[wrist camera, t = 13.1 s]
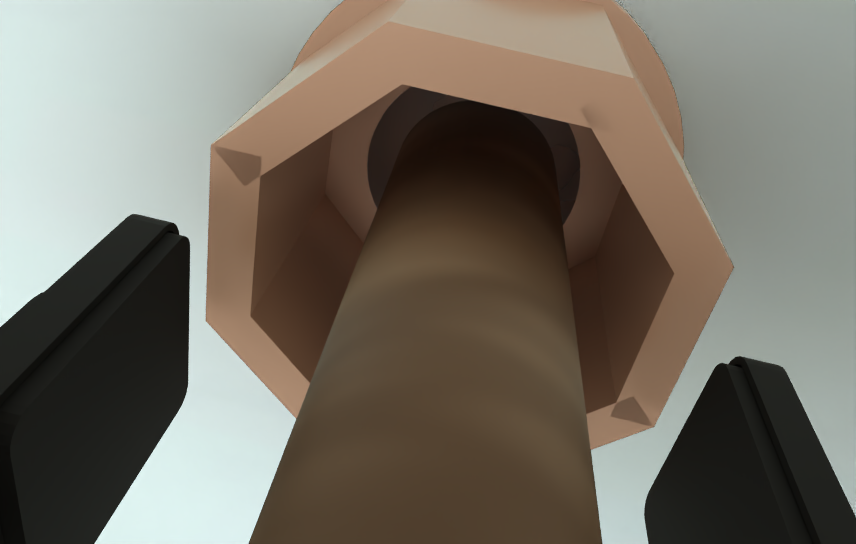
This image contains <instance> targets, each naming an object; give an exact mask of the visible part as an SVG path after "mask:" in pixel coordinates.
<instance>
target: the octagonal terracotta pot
mask: <svg viewBox="0 0 856 544" xmlns="http://www.w3.org/2000/svg"><path fill="white" fill-rule="evenodd" d="M410 86H412V87H417V88H421V89H425V90H429V91H434V92H438V93H442V94H447V95H451V96H455V97H460V98H464V99H468V100H473V101H477V102H481V103H485V104H490V105H494V106H498V107H503V108H507V109H511V110H516V111H520V112H524V113H528V114H533V115H537V116H541V117H546V118H550V119H554V120H559V121H563V122H567V123H569V125H570V128H571V130H572V132H573V134H574V137H575V140H576V143H577V147H578V153H579V159H580V183H579V190H578V194H577V197H576V201H575V203H574V206H573V208H572V211H571V213H570V215H569V216H568V218H567V220H566V221H565V223H564V225H563V231H564V239H565V247H566V255H567V263H568V271H569V279H570V288H571V296H572V304H573V312H574V320H575V328H576V336H577V344H578V352H579V360H580V368H581V376H582V384H583V392H584V400H585V408H586V416H587V425H588V433H589V441H590V449H594V448H597V447H600V446H602V445H605V444H608V443H611V442H614V441H616V440H619V439H622V438H625V437H627V436H630V435H633V434H636V433H638V432H641V431H644V430H647V429H649V428H652V427H654V426H655V424H656V422H657V420H658V418H659V416H660V414H661V412H662V410H663V408H664V406H665V404H666V402H667V400H668V398H669V396H670V394H671V392H672V390H673V388H674V386H675V384H676V382H677V380H678V378H679V376H680V374H681V372H682V370H683V368H684V366H685V364H686V362H687V360H688V358H689V356H690V354H691V352H692V350H693V348H694V346H695V344H696V342H697V340H698V338H699V336H700V334H701V332H702V330H703V328H704V326H705V324H706V322H707V320H708V318H709V316H710V314H711V312H712V310H713V308H714V306H715V304H716V302H717V300H718V298H719V296H720V294H721V292H722V290H723V288H724V286H725V284H726V282H727V280H728V278H729V276H730V274H731V272H732V270H733V268H734V266H733V264H732V262H731V260H730V258H729V256H728V254H727V252H726V250H725V247H724V245H723V243H722V241H721V239H720V237H719V235H718V233H717V231H716V229H715V226H714V224H713V222H712V220H711V218H710V216H709V214H708V212H707V210H706V207H705V205H704V203H703V201H702V199H701V197H700V195H699V193H698V191H697V188H696V186H695V184H694V182H693V180H692V178H691V176H690V174H689V172H688V169H687V167H686V165H685V163H684V161H683V152H684V140H683V130H682V120H681V115H680V111H679V107H678V103H677V99H676V95H675V91H674V88H673V86H672V84H671V81H670V79H669V76H668V74H667V72H666V69H665V67H664V65H663V63H662V61H661V60H660V58H659V56H658V55H657V53H656V51H655V50H654V48H653V46H652V45H651V43H650V41H649V40H648V38H647V36H646V35H645V33H644V32H643V30H642V29H641V28H640V27H639V25H638V24H637V23H636V22H635V21H634V19H633V18H632V17H631V16H630V15H629V13H628V12H627V11H626V10H625V9H624V8H623V7H622V6H621V5H620V4H618V3H617V2H616V1H615V0H344V1H343V2H342V3H341V4H340V5H338V6H337V7H336V8H335V9H334V10H333V11H331V12H330V14H329V15H328V16H327V17H326V18H325V19H324V20H323V22H322V23H321V24H320V25H319V26H318V27H317V28H316V30H315V31H314V32H313V33H312V35H311V36H310V38H309V39H308V41H307V42H306V44H305V46H304V47H303V49H302V50H301V52H300V53H299V55H298V57H297V59H296V61H295V63H294V66H293V68H292V70H291V72H290V73H289V74H288V75H287V76H286V77H285V78H284V79H283V80H282V81H280V82H279V83H278V84H277V85H276V86H275V87H274V88H273V89H272V90H271V91H269V92H268V93H267V94H266V95H265V96H264V97H263V98H262V99H261V100H260V101H259V102H257V103H256V104H255V105H254V106H253V107H252V108H251V109H250V110H249V111H248V112H246V113H245V114H244V115H243V116H242V117H241V118H240V119H239V120H238V121H237V122H236V123H234V124H233V125H232V126H231V127H230V128H229V129H228V130H227V131H226V132H225V133H224V134H222V135H221V136H220V137H219V138H218V139H217V140H216V141H215V142H214V143H213V144H211V161H210V194H209V227H208V260H207V294H206V322H207V323H208V324H209V325H210V326H211V327H212V328H213V329H214V330H215V331H216V332H217V333H218V335H219V336H220V337H221V338H222V339H223V340H224V341H225V342H226V343H227V344H228V345H229V346H230V347H231V349H232V350H233V351H234V352H235V353H236V354H237V355H238V356H239V357H240V358H241V359H242V360H243V362H244V363H245V364H246V365H247V366H248V367H249V368H250V369H251V370H252V371H253V372H254V373H255V375H256V376H257V377H258V378H259V379H260V380H261V381H262V382H263V383H264V384H265V385H266V386H267V387H268V389H269V390H270V391H271V392H272V393H273V394H274V395H275V396H276V397H277V398H278V399H279V400H280V402H281V403H282V404H283V405H284V406H285V407H286V408H287V409H288V410H289V411H290V412H291V413H292V415H293V416H294V417H295V418H296V419H297V416H298V414H299V411H300V409H301V406H302V403H303V401H304V398H305V396H306V393H307V390H308V388H309V385H310V383H311V380H312V377H313V375H314V372H315V370H316V367H317V364H318V362H319V359H320V357H321V354H322V351H323V349H324V346H325V344H326V341H327V338H328V336H329V333H330V331H331V328H332V325H333V323H334V320H335V317H336V315H337V312H338V310H339V307H340V304H341V302H342V299H343V297H344V294H345V291H346V289H347V286H348V284H349V281H350V278H351V276H352V273H353V271H354V268H355V265H356V263H357V260H358V258H359V255H360V252H361V250H362V247H363V245H364V242H365V239H366V237H367V234H368V232H369V229H370V226H371V224H372V221H373V219H374V216H375V213H376V211H377V207H376V205H375V203H374V201H373V198H372V195H371V192H370V187H369V182H368V172H367V162H368V152H369V147H370V143H371V139H372V137H373V134H374V131H375V129H376V127H377V125H378V123H379V121H380V120H381V118H382V116H383V114H384V113H385V111H386V110H387V109H388V107H389V106H390V105H391V103H392V102H393V101H394V100H395V99H396V98H397V97H398V96H399V95H400V94H401V93H402V92H404V91H405V90H406V89H408V88H409V87H410Z"/></svg>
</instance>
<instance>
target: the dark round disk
mask: <svg viewBox="0 0 856 544" xmlns="http://www.w3.org/2000/svg"><path fill="white" fill-rule="evenodd" d="M467 100H468V99H464V98H460V97H455V96H451V95H447V94H442V93H438V92H434V91H429V90H425V89H421V88H417V87H412V86H410V87H409V88H408V89H406V90H405V91H404V92H402V93H401V94H400V95H399V96H398V97H397V98H396V99H395V100H394V101H393V102H392V103H391V105H390V106H389V107H388V109H387V110H386V111H385V113H384V114H383V116H382V118H381V120H380V121H379V123H378V125H377V127H376V129H375V131H374V134H373V137H372V139H371V143H370V147H369V152H368V162H367V172H368V182H369V187H370V192H371V195H372V198H373V201H374V203H375V205H376V207H377V208H378V206H379V203H380V200H381V198H382V195H383V193H384V190H385V187H386V185H387V182H388V180H389V177H390V174H391V172H392V169H393V166H394V164H395V161H396V159H397V156H398V153H399V151H400V149H401V146H402V144H403V142H404V140H405V138H406V137H407V135H408V133H409V132H410V131H411V130H412V128H413V127H414V126H415V125H416V124H417V123H418V122H419V121H420V120H421V119H422V118H424V117H425V116H426V115H428V114H429V113H430V112H432V111H434V110H436V109H438V108H440V107H442V106H445V105H448V104H451V103H455V102H459V101H467ZM518 112H519V113H521V114H523V115H524V116H525V117H527V118H528V119H529V120H530V121H532V122H533V123H534V124H535V125H536V127H537V128H538V129H539V130H540V131H541V133H542V134H543V135H544V137H545V138H546V140H547V142H548V144H549V146H550V148H551V151H552V154H553V157H554V162H555V167H556V175H557V183H558V191H559V199H560V207H561V215H562V223H563V225H564V223H565V221H566V220H567V218H568V216H569V215H570V213H571V211H572V208H573V206H574V203H575V201H576V197H577V194H578V190H579V183H580V159H579V153H578V147H577V143H576V140H575V137H574V134H573V132H572V130H571V128H570V125H569V123H567V122H563V121H559V120H554V119H550V118H546V117H541V116H537V115H533V114H528V113H524V112H520V111H518Z"/></svg>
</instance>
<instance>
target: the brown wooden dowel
mask: <svg viewBox="0 0 856 544" xmlns="http://www.w3.org/2000/svg"><path fill="white" fill-rule="evenodd" d="M249 544H602V537H601V529H600V521H599V513H598V505H597V497H596V489H595V481H594V473H593V465H592V457H591V449H590V441H589V433H588V425H587V416H586V408H585V400H584V392H583V384H582V376H581V368H580V360H579V352H578V344H577V336H576V328H575V320H574V312H573V304H572V296H571V288H570V279H569V271H568V263H567V255H566V247H565V239H564V231H563V223H562V215H561V207H560V199H559V191H558V183H557V175H556V167H555V162H554V157H553V154H552V151H551V148H550V146H549V144H548V142H547V140H546V138H545V137H544V135H543V134H542V133H541V131H540V130H539V129H538V128H537V127H536V125H535V124H534V123H533V122H532V121H530V120H529V119H528V118H527V117H525V116H524V115H523V114H521V113H519V112H518V111H516V110H511V109H507V108H503V107H498V106H494V105H490V104H485V103H481V102H477V101H473V100H467V101H459V102H455V103H451V104H448V105H445V106H442V107H440V108H438V109H436V110H434V111H432V112H430V113H429V114H428V115H426V116H425V117H424V118H422V119H421V120H420V121H419V122H418V123H417V124H416V125H415V126H414V127H413V128H412V130H411V131H410V132H409V133H408V135H407V137H406V138H405V140H404V142H403V144H402V146H401V149H400V151H399V153H398V156H397V159H396V161H395V164H394V166H393V169H392V172H391V174H390V177H389V180H388V182H387V185H386V187H385V190H384V193H383V195H382V198H381V200H380V203H379V206H378V208H377V211H376V213H375V216H374V219H373V221H372V224H371V226H370V229H369V232H368V234H367V237H366V239H365V242H364V245H363V247H362V250H361V252H360V255H359V258H358V260H357V263H356V265H355V268H354V271H353V273H352V276H351V278H350V281H349V284H348V286H347V289H346V291H345V294H344V297H343V299H342V302H341V304H340V307H339V310H338V312H337V315H336V317H335V320H334V323H333V325H332V328H331V331H330V333H329V336H328V338H327V341H326V344H325V346H324V349H323V351H322V354H321V357H320V359H319V362H318V364H317V367H316V370H315V372H314V375H313V377H312V380H311V383H310V385H309V388H308V390H307V393H306V396H305V398H304V401H303V403H302V406H301V409H300V411H299V414H298V416H297V419H296V422H295V424H294V427H293V429H292V432H291V435H290V437H289V440H288V442H287V445H286V448H285V450H284V453H283V455H282V458H281V461H280V463H279V466H278V468H277V471H276V474H275V476H274V479H273V482H272V484H271V487H270V489H269V492H268V495H267V497H266V500H265V502H264V505H263V508H262V510H261V513H260V515H259V518H258V521H257V523H256V526H255V528H254V531H253V534H252V536H251V539H250V541H249Z"/></svg>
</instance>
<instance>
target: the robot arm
mask: <svg viewBox="0 0 856 544" xmlns="http://www.w3.org/2000/svg"><path fill="white" fill-rule="evenodd" d="M189 282H190V242H189V239H188V238H187V237H185V236H181V235H179V230H178V228H177V225H175V224H174V223H171V222H167V221H163V220H159V219H154V218H150V217H146V216H142V215H137V214H132V215H130V216H128V217H127V218H126V219H125V220H124V221H122V222H121V223H120V224H119V225H118V226H117V227H116V228H115V229H114V230H113V231H111V232H110V233H109V234H108V235H107V236H106V237H105V238H104V239H103V240H101V241H100V242H99V243H98V244H97V245H96V246H95V247H94V248H93V249H91V250H90V251H89V252H88V253H87V254H86V255H85V256H84V257H83V258H82V259H80V260H79V261H78V262H77V263H76V264H75V265H74V266H73V267H72V268H70V269H69V270H68V271H67V272H66V273H65V274H64V275H63V276H62V277H60V278H59V279H58V280H57V281H56V282H55V283H54V284H53V285H52V286H51V287H49V288H48V289H47V290H46V291H45V292H43V293H40V294H39V295H37V296H36V297H34V298H33V299H31V300H30V301H29V302H28V303H27V304H26V305H25V306H24V307H22V308H21V309H20V310H19V311H18V312H17V313H16V314H15V315H14V316H12V317H11V318H10V319H9V320H8V321H7V322H6V323H5V324H3V325H2V326H1V327H0V544H94V543H95V542H96V540H97V538H98V537H99V535H100V534H101V532H102V531H103V529H104V527H105V526H106V524H107V523H108V521H109V519H110V518H111V516H112V515H113V513H114V512H115V510H116V508H117V507H118V505H119V504H120V502H121V501H122V499H123V497H124V496H125V494H126V493H127V491H128V490H129V488H130V486H131V485H132V483H133V482H134V480H135V479H136V477H137V475H138V474H139V472H140V471H141V469H142V468H143V466H144V464H145V463H146V461H147V460H148V458H149V456H150V455H151V453H152V452H153V450H154V449H155V447H156V445H157V444H158V442H159V441H160V439H161V438H162V436H163V434H164V433H165V431H166V430H167V428H168V427H169V425H170V423H171V422H172V420H173V419H174V417H175V416H176V414H177V412H178V411H179V409H180V407H181V405H182V403H183V401H184V398H185V395H186V392H187V387H188V352H189ZM644 516H645V524H646V530H647V536H648V542H649V544H856V517H855V515H854V513H853V510H852V508H851V506H850V504H849V502H848V500H847V498H846V496H845V494H844V492H843V490H842V487H841V485H840V483H839V481H838V479H837V477H836V475H835V473H834V471H833V469H832V467H831V465H830V462H829V460H828V458H827V456H826V454H825V452H824V450H823V448H822V446H821V444H820V442H819V440H818V437H817V435H816V433H815V431H814V429H813V427H812V425H811V423H810V421H809V419H808V417H807V414H806V412H805V410H804V408H803V406H802V404H801V402H800V400H799V398H798V396H797V394H796V392H795V389H794V387H793V385H792V383H791V381H790V379H789V377H788V375H787V373H786V371H785V370H784V369H783V367H781V366H778V365H775V364H770V363H766V362H762V361H758V360H753V359H749V358H745V357H741V356H739V357H735V358H734V359H733V360H731V361H730V363H729V364H724V363H721V364H718V365H717V366H716V367H715V369H714V370H713V372H712V374H711V376H710V378H709V380H708V381H707V383H706V385H705V387H704V389H703V391H702V393H701V395H700V396H699V398H698V400H697V402H696V404H695V406H694V408H693V410H692V412H691V413H690V415H689V417H688V419H687V421H686V423H685V425H684V427H683V428H682V430H681V432H680V434H679V436H678V438H677V440H676V442H675V444H674V445H673V447H672V449H671V451H670V453H669V455H668V457H667V459H666V460H665V462H664V464H663V466H662V468H661V470H660V472H659V474H658V476H657V477H656V479H655V481H654V483H653V485H652V487H651V489H650V491H649V493H648V495H647V499H646V503H645V512H644Z"/></svg>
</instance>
